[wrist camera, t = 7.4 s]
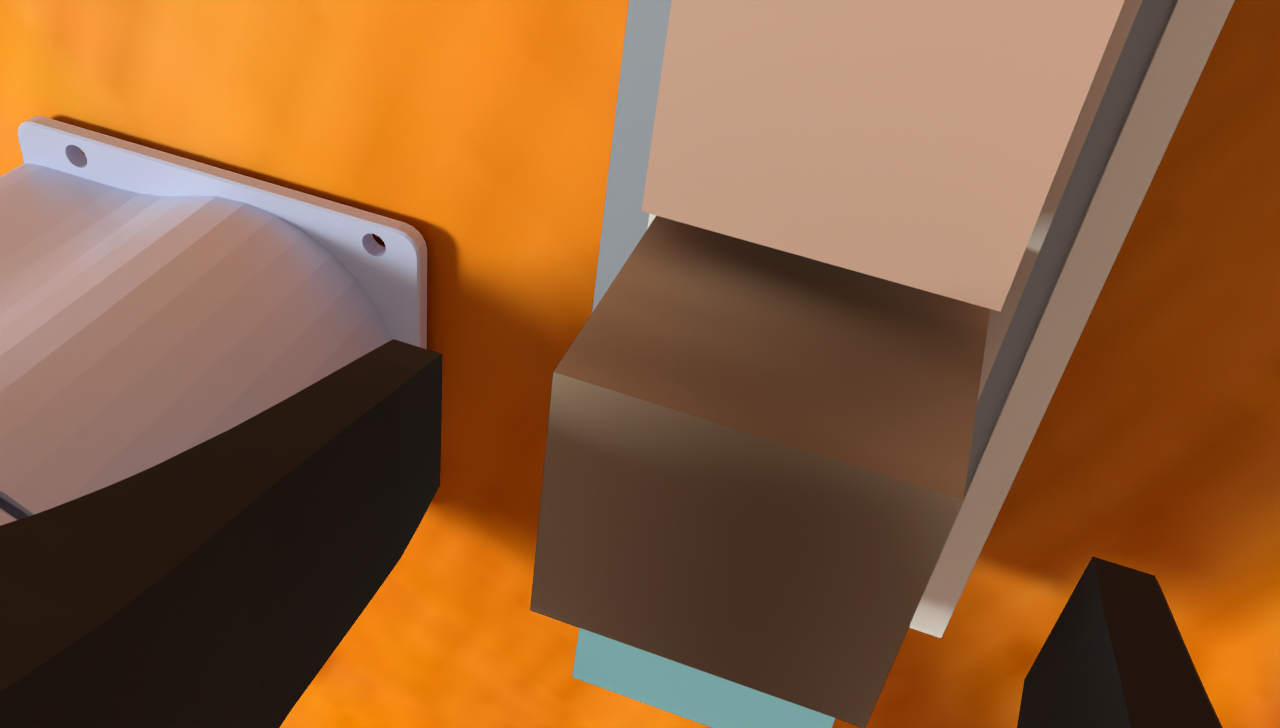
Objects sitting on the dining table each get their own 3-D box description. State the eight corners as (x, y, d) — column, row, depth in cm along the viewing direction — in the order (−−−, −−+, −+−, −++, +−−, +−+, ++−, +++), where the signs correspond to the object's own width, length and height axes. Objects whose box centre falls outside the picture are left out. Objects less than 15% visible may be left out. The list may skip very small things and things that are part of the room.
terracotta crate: (702, 122, 14) (641, 211, 12) (761, -220, 12) (696, -176, 10) (1013, 204, 14) (1000, 311, 12) (1145, -143, 11) (1155, -77, 9)
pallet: (632, 495, 21) (477, 812, 16) (763, -286, 13) (538, -171, 8) (887, 579, 21) (814, 943, 15) (1196, -202, 12) (1270, -8, 7)
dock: (610, 433, 24) (566, 513, 22) (729, -398, 15) (672, -389, 13) (954, 543, 23) (940, 638, 21) (1319, -294, 14) (1357, -266, 12)
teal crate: (623, 566, 20) (572, 677, 18) (653, 393, 17) (597, 500, 15) (845, 642, 19) (816, 765, 17) (909, 473, 17) (884, 594, 15)
